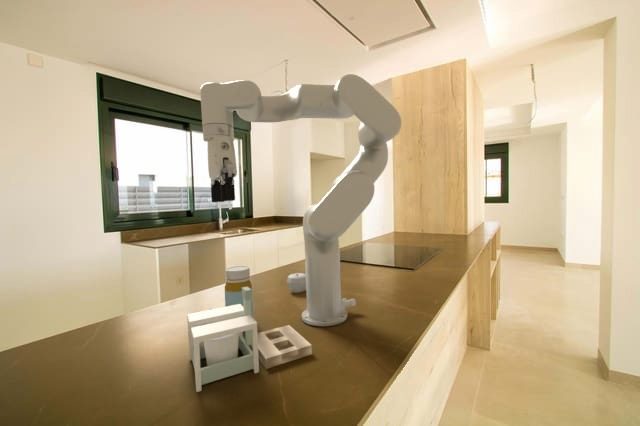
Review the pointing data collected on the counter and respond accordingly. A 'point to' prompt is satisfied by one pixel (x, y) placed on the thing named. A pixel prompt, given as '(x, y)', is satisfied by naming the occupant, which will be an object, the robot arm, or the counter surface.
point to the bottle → (237, 285)
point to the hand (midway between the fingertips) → (223, 201)
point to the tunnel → (219, 331)
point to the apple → (297, 282)
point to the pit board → (281, 346)
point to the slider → (232, 365)
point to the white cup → (221, 349)
